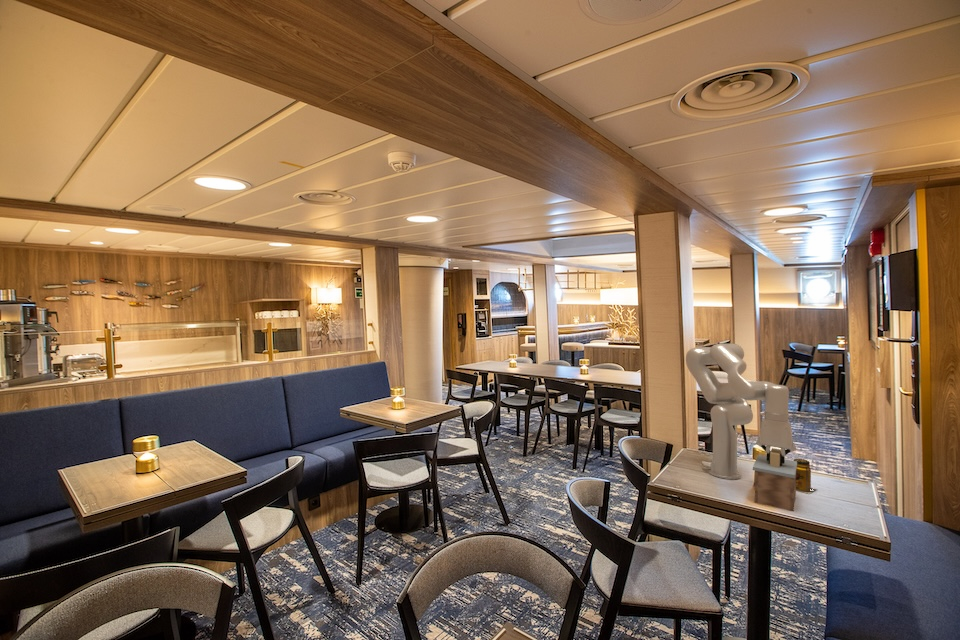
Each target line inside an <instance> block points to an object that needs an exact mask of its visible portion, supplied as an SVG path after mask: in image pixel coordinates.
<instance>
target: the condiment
mask: <svg viewBox="0 0 960 640" xmlns="http://www.w3.org/2000/svg"><path fill="white" fill-rule="evenodd" d="M793 461H797V469H796V492H800V493H804V494H808V495H809V494H812V493H814V492H816V491H817V490H818V489H817V488H814V489H813V487H812V484H811V483H812V480H811V479H812V470H811V468H810V467H811V465H810V464H811V463H810V461H809V460H808V459H803V458H794V459H793ZM810 489H811V490H812V489H813V490H814V491H810Z"/></svg>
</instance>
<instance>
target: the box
mask: <svg viewBox="0 0 960 640" xmlns="http://www.w3.org/2000/svg"><path fill="white" fill-rule="evenodd" d="M796 494H797V491H796V475H795V478H790V477H785V476H780V475H775V474H770V473H765V472H760V471H755V470H754V503H755V504H756V503H757V504H759V505H763V506H764V505H765V506H768V507H773V508H778V509H781V510H787V511H790V512H794V511H795V505H796V503H795V502H796V498H797V497H796V496H797V495H796Z"/></svg>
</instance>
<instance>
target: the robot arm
mask: <svg viewBox="0 0 960 640" xmlns="http://www.w3.org/2000/svg"><path fill="white" fill-rule="evenodd" d="M744 357H745V351H744V349H743V347H741V346H740V345H739V344H736V343H716V344H714V345H712V346H700V347H699V346H697V347H693V348H690V349H689V350H688V351H687V352H686V355H685V364H686V367H687V370H688V371H689V372H690V374H691V375H692V377H693V378H694V379H695V382H696V383H697V385H698V387H699V390H700V391H701V392H702V395H703V397H704V399H705V400H706V401H707V402H708V403H709V404H715V405H713V407H711V409H710V414H709V415H710V419H711V425H712V426H711V427H712V461H707V460H702V462H701V465H702V466H703V467H705V468H709V469H708V473H709V474H710V475H711V476H714V477H717V478H721V479H723V480H725V479H726V480H738V479H740V478H741V477H742V474H741V472H739V471H738V435H737V432H736V430H735V429H734V426H739V425H740V426H744V425H749V424H750V423H751V422H752V421H753V419H754V414H753V411H752V408H751V406H750V405H749V402H748V401H764V411H760V416H762V417H763V418H762V420H761V422H760V430H759V431H760V432H759V437H758V439H757V440H756V441H755V445H757V446H759V447H760V448H762V450H764V452H765V453H766V456H767V461H768V464H770V452H771V447H772V448H777V449H781V454H780V466H782V463H783V464H784V463H785V459H786V457H785V456H786V455H788V454H789V453H792V452H797V447H796V444H795V443H794V442H793V431H792V430H793V429H792V423H791V422H790V421H789V403H790V402H789V401H790V400H789V399H790V398H789V396H790V395H789V394H790V392H789V387H788V386H787V385H783V384H776V383H774V382H771V381H767V380H765V381H759V380H755V381H752V380H751V381H747V380H746V379H745V378H744V377H743V376H742V374H744V373H745V371H746V370H747V366H748V365H747V363H746V362H745V361H744V360H743V359H744ZM710 365H713V366H714V365H715V366H717V365H718V366H719V368H721V369H722V370H723V371H724V372H725V373H726V374H727V382H720V381H719V380H718V378H717V376H716V374H715V373H714V372H713V371H712V370H711V369H709V367H707V366H710Z"/></svg>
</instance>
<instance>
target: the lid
mask: <svg viewBox="0 0 960 640" xmlns="http://www.w3.org/2000/svg"><path fill="white" fill-rule="evenodd" d="M770 451H771V452H770V464H768V461H767V455H764V454H757V457H756V459H755V461H754V463H753V465H752V471H754V472H755V471H760V472H765V473H770V474H775V475H780V476H785V477H790V478H795V475H796V469H797V461H794V460H791V459H786V458H785V463H784V464H783V463H782V466H780V454H781V448H776V447H772V448H770Z"/></svg>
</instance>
